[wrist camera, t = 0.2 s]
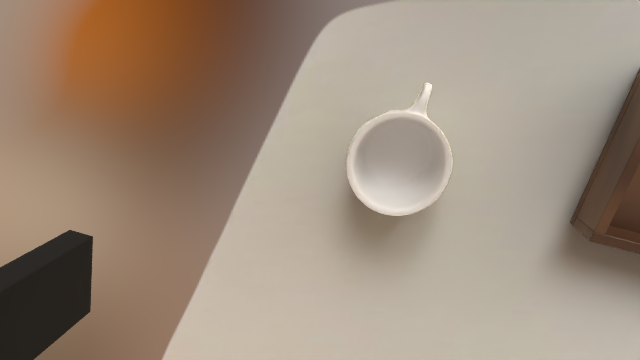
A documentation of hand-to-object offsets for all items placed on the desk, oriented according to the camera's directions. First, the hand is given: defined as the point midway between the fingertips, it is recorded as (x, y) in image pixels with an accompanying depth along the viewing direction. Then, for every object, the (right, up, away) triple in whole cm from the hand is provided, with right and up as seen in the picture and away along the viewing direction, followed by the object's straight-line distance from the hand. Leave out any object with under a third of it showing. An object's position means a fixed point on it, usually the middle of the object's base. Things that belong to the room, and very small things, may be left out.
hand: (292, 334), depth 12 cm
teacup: (+8, +8, +22) cm, 25 cm away
